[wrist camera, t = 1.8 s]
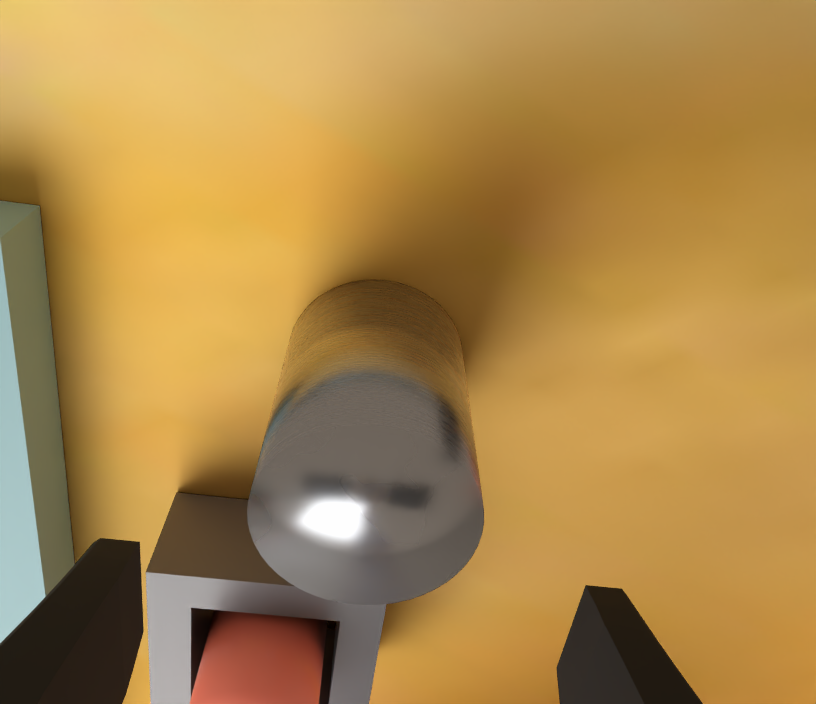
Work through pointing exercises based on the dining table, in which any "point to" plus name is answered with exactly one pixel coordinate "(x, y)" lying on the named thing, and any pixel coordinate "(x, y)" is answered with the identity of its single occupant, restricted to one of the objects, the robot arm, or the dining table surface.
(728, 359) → the dining table surface
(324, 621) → the button
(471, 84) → the dining table surface
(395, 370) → the cylinder
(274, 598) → the button housing
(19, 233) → the plate
